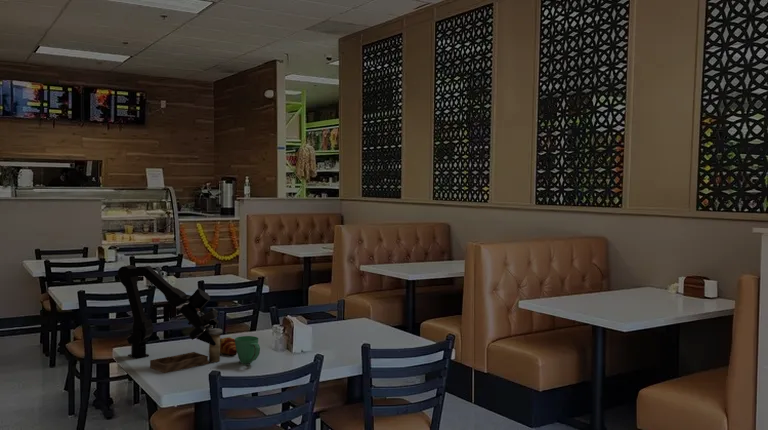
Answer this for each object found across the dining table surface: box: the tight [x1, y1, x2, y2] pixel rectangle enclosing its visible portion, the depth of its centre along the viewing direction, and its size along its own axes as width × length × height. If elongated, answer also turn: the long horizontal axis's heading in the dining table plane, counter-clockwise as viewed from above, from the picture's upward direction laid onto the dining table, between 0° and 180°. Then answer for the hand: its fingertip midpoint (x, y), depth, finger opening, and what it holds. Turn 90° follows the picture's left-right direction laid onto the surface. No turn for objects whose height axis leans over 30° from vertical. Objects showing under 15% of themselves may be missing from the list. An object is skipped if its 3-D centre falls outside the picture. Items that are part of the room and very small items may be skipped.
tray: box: [149, 351, 210, 374], centre depth 269 cm, size 20×11×3 cm, turn 140°
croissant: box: [220, 336, 237, 356], centre depth 294 cm, size 21×10×8 cm, turn 37°
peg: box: [208, 328, 223, 363], centre depth 277 cm, size 6×6×13 cm
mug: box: [234, 335, 261, 365], centre depth 275 cm, size 15×10×10 cm
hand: (217, 343), depth 277 cm, fingers closed on peg, 5 cm apart
